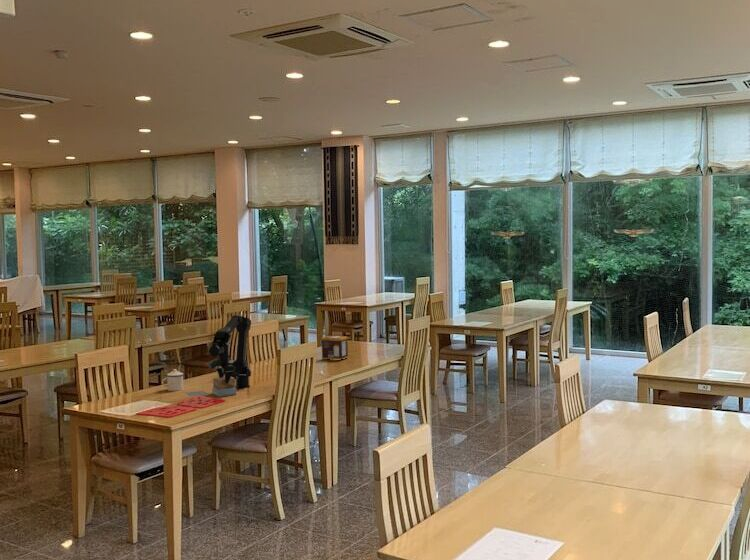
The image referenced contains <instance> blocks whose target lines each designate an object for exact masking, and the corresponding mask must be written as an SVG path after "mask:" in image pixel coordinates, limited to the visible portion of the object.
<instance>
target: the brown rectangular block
mask: <svg viewBox="0 0 750 560" xmlns="http://www.w3.org/2000/svg"><path fill="white" fill-rule="evenodd" d="M212 381H213V382H212V384H213V386H212V387H213V388H215V389H225V388H233V387H236V379H235V378H233V377H231V378H230V380H229V383H228V384H226V381H225V376H224V377H222V378H219V377H215V378H213V379H212Z"/></svg>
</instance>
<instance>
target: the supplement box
mask: <svg viewBox="0 0 750 560" xmlns="http://www.w3.org/2000/svg"><path fill="white" fill-rule="evenodd" d="M348 345H349V343H348V336H346V335H345V336H342V335H340V336H339V335H338V336H337V335H328V336H323V337H321V358H322V359H344V358H346V357H348V358H349V356H348V355H349V349H348Z"/></svg>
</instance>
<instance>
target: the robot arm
mask: <svg viewBox="0 0 750 560" xmlns="http://www.w3.org/2000/svg"><path fill="white" fill-rule="evenodd" d="M251 325H252V320H251V319H250V318H249V317H246V316H243V315H237V314H236V315H235V314H234V315H232V316H231V319H230V320H229V321H228V322H227V323H226V324H225V326H224V327H221V328H219V329H218V330H217V331H216V332H215V334H214V337H213V340H212V345H211V346H210V348H209V349H208V352H209V355H211V356H212V357H215V358H214V359H211V360H210V361H208V362H207V365H208V368H209V369H210V370H213V369H214V370H216V372H217V374H218V375H217V376H218V378H222V377H225V381H226V384H228V383H229V380H230V378H231V376H232V374H234V376H236V379H235V387H236V388H238V389H243V388H250V387H251V386H250V383H249V381H250V380H249V377H251V376H252V371H251V369H250V367H249V363H248V361H247V359H246V356H247V342H248V341H247V340H248V339H247V338H248V333H249V331H250V330H251ZM234 330H236V331H237V333H238V334H237V336H238V337H237V338H238V339H237V348H236V349H237V353H236V359H235V360H233V361H234V362H233V365H230V363H229V361H230V358H231V355H230V353H229V352H230V351H229V350H230V349H229V345H230V344H231V343H230V342H229V341H230V339H231V338H232V333H233V331H234Z"/></svg>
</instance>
